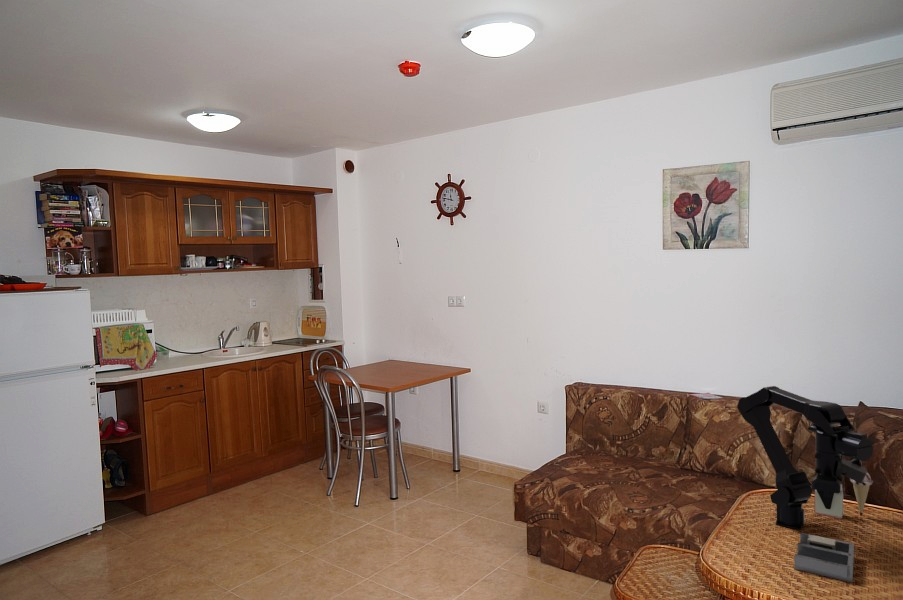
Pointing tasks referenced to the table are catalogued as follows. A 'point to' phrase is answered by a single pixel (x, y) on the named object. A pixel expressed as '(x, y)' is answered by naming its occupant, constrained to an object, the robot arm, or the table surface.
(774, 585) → the table surface
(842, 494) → the white boxy piece
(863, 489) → the ice cream cone
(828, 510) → the pale sage upright block
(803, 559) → the gray compartment tray
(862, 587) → the table surface
